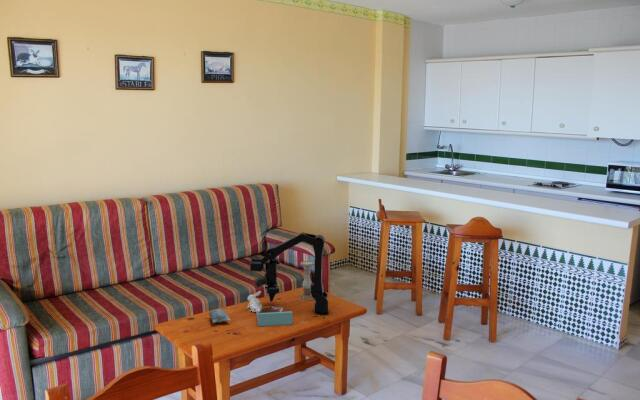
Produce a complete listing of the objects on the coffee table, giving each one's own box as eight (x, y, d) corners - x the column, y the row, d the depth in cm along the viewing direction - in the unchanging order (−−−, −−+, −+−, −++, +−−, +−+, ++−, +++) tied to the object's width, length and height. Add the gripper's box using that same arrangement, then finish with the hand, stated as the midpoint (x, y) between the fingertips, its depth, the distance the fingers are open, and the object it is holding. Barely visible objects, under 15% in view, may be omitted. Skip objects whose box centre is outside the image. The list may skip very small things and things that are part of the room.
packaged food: (226, 315, 275) (226, 306, 275) (230, 324, 264) (230, 314, 263) (208, 317, 273) (208, 307, 272) (212, 326, 261) (211, 316, 261)
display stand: (289, 316, 275) (289, 305, 274) (292, 324, 265) (292, 312, 264) (256, 318, 272) (256, 306, 272) (258, 326, 262) (258, 314, 262)
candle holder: (309, 302, 297) (309, 265, 294) (296, 299, 302) (296, 263, 299) (318, 297, 305) (318, 262, 302) (305, 295, 309) (305, 259, 306)
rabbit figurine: (244, 307, 288) (244, 290, 286) (258, 305, 292) (258, 287, 290) (253, 315, 278) (253, 296, 276) (267, 312, 281) (267, 294, 280)
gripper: (253, 267, 289) (253, 296, 292) (256, 277, 271) (256, 308, 274) (275, 266, 291) (275, 295, 294) (279, 276, 273) (279, 307, 276)
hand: (271, 301), depth 284 cm, fingers closed
